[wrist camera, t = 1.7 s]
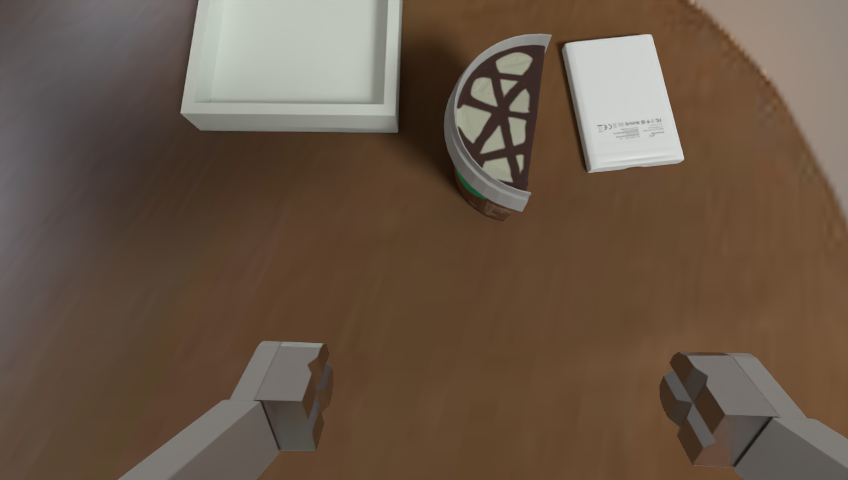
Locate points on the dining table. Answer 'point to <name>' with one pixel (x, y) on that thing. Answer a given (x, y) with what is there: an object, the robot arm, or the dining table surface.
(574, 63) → the external hard drive
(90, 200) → the dining table surface
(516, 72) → the food container
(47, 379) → the dining table surface
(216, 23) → the tray
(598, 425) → the dining table surface
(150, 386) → the dining table surface
